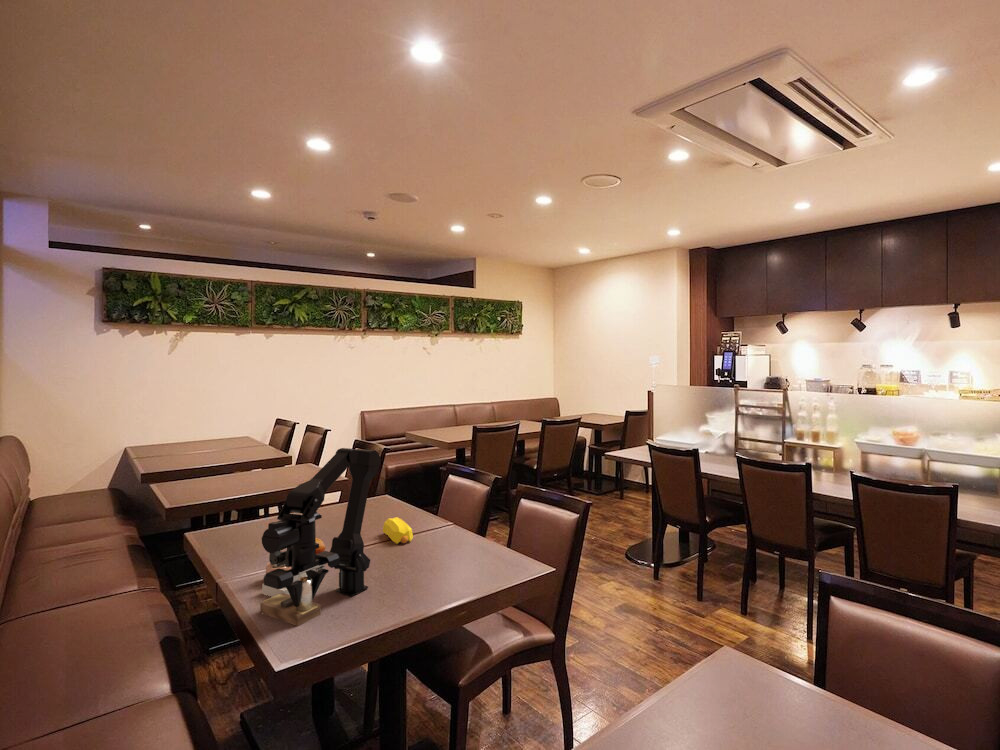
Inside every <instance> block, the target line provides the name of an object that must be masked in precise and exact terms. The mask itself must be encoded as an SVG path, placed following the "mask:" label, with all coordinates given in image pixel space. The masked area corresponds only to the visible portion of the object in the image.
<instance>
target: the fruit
mask: <svg viewBox="0 0 1000 750" xmlns="http://www.w3.org/2000/svg"><path fill="white" fill-rule="evenodd" d="M316 543H318V544H319V548H317V549H316V554H318V553H321V552H323V551H326V546H325V543H324V542H323V540H321V539H320V538H318V537H316Z"/></svg>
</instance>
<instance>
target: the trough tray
mask: <svg viewBox="0 0 1000 750" xmlns="http://www.w3.org/2000/svg"><path fill="white" fill-rule="evenodd" d="M301 577H307V574H306V572H304V573H302V574H299V578H301ZM283 593H285V594H289V592H288V590H287V588H286V587H285V588H283V589H275V588H272V587H269V586H266V585H264V583H262V595H263V594H265V595H264V596H267V595H268V596H267V597H270V596H271V597H270V598H272V597H274V596H276V595H279V594H283ZM289 595H290V594H289Z"/></svg>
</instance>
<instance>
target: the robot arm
mask: <svg viewBox="0 0 1000 750" xmlns="http://www.w3.org/2000/svg"><path fill="white" fill-rule="evenodd" d="M381 461H382V460H381V455H380V453H379V451H378V450H373V449H361V448H357V449H354V448H347V447H346V448H345V447H342V448H338V449H337V450H336V452H335V454H334V455H333V456H332V457H331V458H330V459H329V460H328V461H327V462H326V463H325V465H323V467H322V468H320V470H318V471H317V473H316V474H314V475H313V477H311V479H309V480H307V481H305V482H303V483H301V484H299V485H297V486H295V487H294V488H293V489H291V491H289V493H288V494H287V496H286V498H285V501H284V503H283V505H282V508H281V509H280V512H279V513H278V515H277V517H276V521H272V522H269V523H268V528H266V529H265V530H264V532H263V533H262V536H261V544H262V547H263V549H264V550H265V551H266V552H267V553H269V563H270V564H271V565H275V564H277V567H279V566H281V565H284V564H285V567H291V569H290V570H283V569H280V568H278V569H276V570H273V571H270V572H268V573H266V572H265V574H264V575H263V584H264V585H266V586H269V587H272V588H275V589H283V588H285V587H286V588H287V590H288V592H289V594H290V597H291V599H292V601H293V604H294V606H295V607H298V606H299V603H300V597H301V591H302V584H303V581H299V574H302V573H304V572H306V574H307V577H311V578H312V601H314V598H315V597H316V595H317V592H318V589H319V588H320V586H321V584H322V582H323V579H325V576H326V575H327V574H328V573H329V572H330V571H329V569H326V566H325V565H327V566H328V567H329V568H330V569H333V568H334V569H335V570H339V572H338V588H336V589H335V593H338V594H342V595H345V596H349V597H353V596H356V595H358V594H360V593H361V592H364V591H365V590H367V589H369V586H367V585H365V572H366V571H367V570H368V569H369V568H370V564H371V558H369V557H368V556H367V555H366V554H365V552H364V551H365V549H364V547H365V544H364V541H363V537H362V535H361V533H362V526H363V523H364V521H363V520H364V517H365V516H364V515H365V510H366V505H367V500H368V494H369V489H370V485H371V484H370V483H371V482H372V480H373V479H374V478H375V476H376V475H377V474H378V471H379V469H380V465H381ZM347 469H348V471H349V473H350V476H351V480H352V481H351V484H350V491H349V495H348V500H347V505H346V509H345V510H346V511H345V515H344V521H343V525H342V526H343V527H342V531H341V532H340V533H339V535H337V537H336V536H334V537H333V538H332V540H331V541H332V542H331V547H330V550H329V551H327V550H325V551H323V552H321V553H318V554H316V549H317V548H319V544H318V543H316V538H317V537H316V536H317V535H316V533H317V532H316V521H317V520H320V519H322V517H323V516H322V515H321V514H320V513H318V510H319V508H320V507H321V505H322V504H323V502H324V501H325V494H326V493H327V492H328V491H329V489H330V488H331V486H332V485H333V484H334V483H335V482H337V480H338V479H339V478H340V477H341V476H342V474H343V473H345V471H346V470H347ZM277 520H278V521H277ZM285 549H286V550H285ZM282 550H283V551H282ZM280 551H282V552H280Z"/></svg>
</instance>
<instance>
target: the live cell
mask: <svg viewBox="0 0 1000 750" xmlns="http://www.w3.org/2000/svg"><path fill="white" fill-rule="evenodd" d="M299 581H303V584H302V591H301V597H300V603H299V606H298V607H295V610H296V611H298V612H304V611H308V610H310V609H312V602H313V600H312V578H311V577H301V578H299Z"/></svg>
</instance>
